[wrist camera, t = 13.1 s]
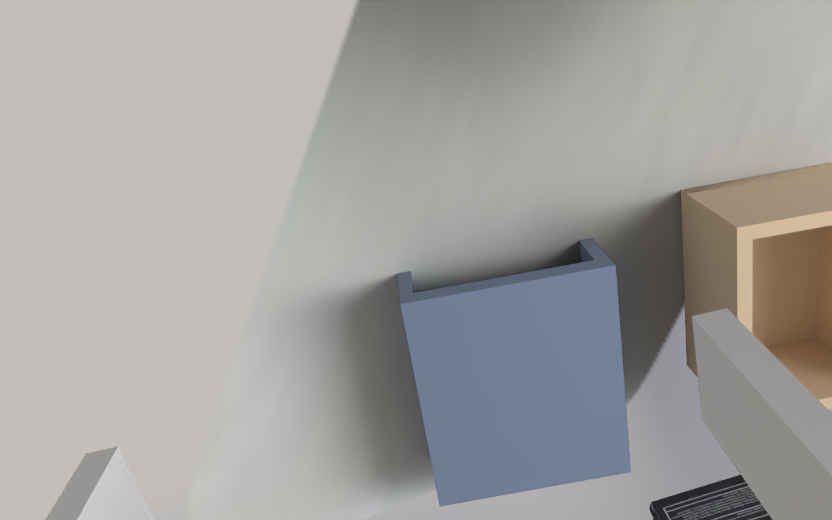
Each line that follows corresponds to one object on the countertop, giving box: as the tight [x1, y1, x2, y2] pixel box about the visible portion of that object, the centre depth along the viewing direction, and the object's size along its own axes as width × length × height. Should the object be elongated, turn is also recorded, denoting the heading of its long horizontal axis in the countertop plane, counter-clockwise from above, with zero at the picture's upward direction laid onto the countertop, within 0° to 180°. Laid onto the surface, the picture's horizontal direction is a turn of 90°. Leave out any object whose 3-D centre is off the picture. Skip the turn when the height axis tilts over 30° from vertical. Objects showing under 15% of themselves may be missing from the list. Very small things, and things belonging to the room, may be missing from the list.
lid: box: [397, 238, 631, 506], centre depth 44 cm, size 14×12×5 cm
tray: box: [681, 163, 832, 410], centre depth 42 cm, size 12×9×7 cm
